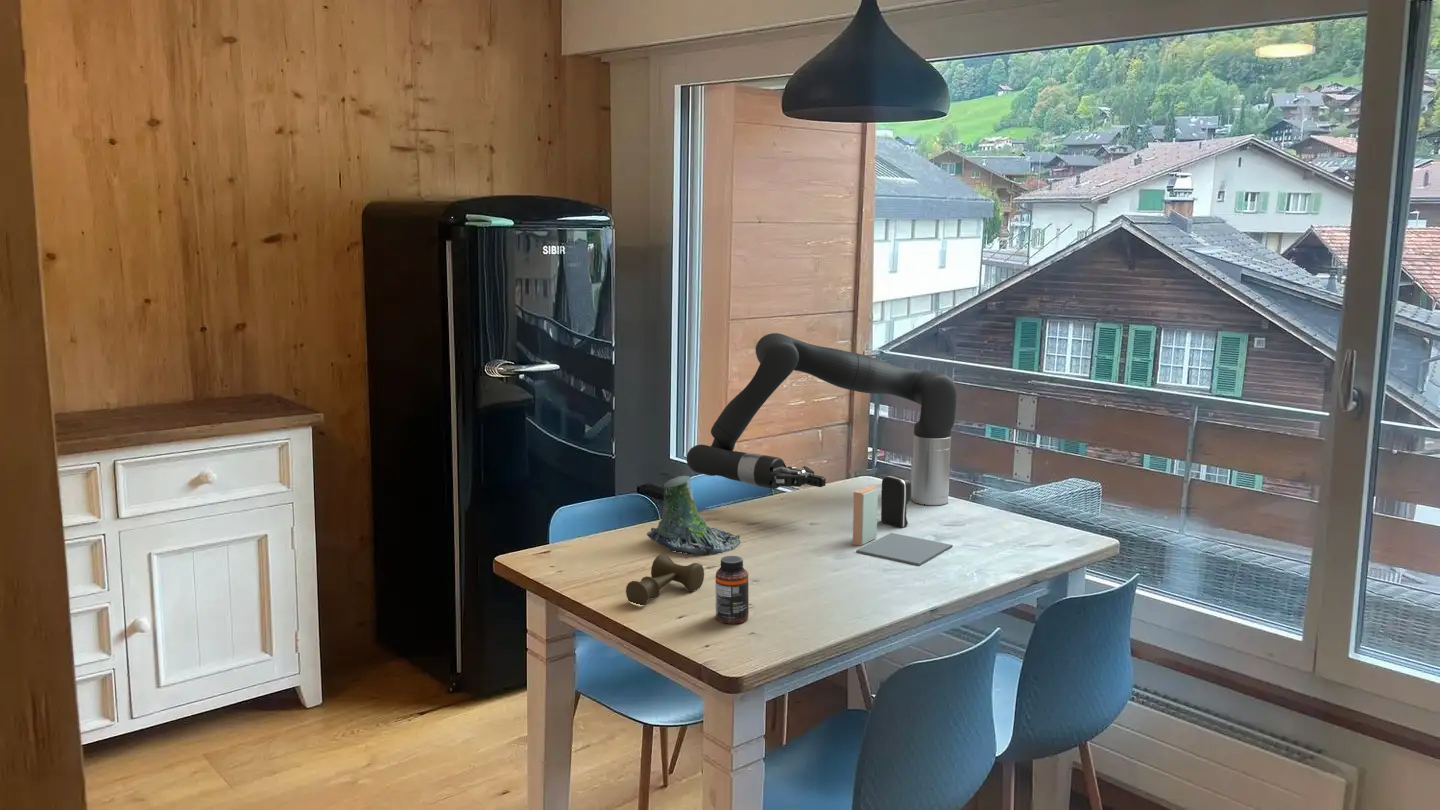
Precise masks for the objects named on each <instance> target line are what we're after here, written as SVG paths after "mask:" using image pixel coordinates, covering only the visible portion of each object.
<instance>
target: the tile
mask: <svg viewBox="0 0 1440 810" xmlns="http://www.w3.org/2000/svg"><path fill="white" fill-rule="evenodd" d="M878 493H879V489H878V486H876V485H875V486H873V485H867V486H865V487H862V488H860V489H857V490H856V491H854V492H853V515H852V516H853V518H852V545H854V544H855V545H854V546H858V545H859V547H862V546H863V544H864V545H867V543H868V544H869V543H870V542H873V541H875V540H877V535H878V533H877V529H878V503H879V502H878V501H879V500H878V498H879V497H878V496H879V495H878ZM869 541H870V542H869ZM861 545H862V546H861Z"/></svg>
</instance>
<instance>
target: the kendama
mask: <svg viewBox="0 0 1440 810" xmlns="http://www.w3.org/2000/svg"><path fill="white" fill-rule="evenodd" d="M650 570H651V571H650V575H651V576H643V577H642V578H641V580H640V581H639V580H638V581H637V580H632V581H630V582H628V583H627V585H626V587H625V595H626V598H627V601H628V602H629V601H630V602H633V603H636V604H640V605H645V606H646V605H647V604H648V603H649V600H650V599H651V598H654V599H656V598H658V596H659V595H660V592H661V590H662V589H663V588H665V586H667V585H668V584H670V582H672V581H673V582H677V583H680V584H682V586H684V588H685V589H686V590H687V591H689V592H691V591H694V590H697V589H698V588H699V589H700V588H701V587H702V585H703V582H704V579H705V569H704V567H703V565H702V564H700V563H699V562H698V563H697V562H693V563H691V564H689V565H683V564H678V563H675V561H673V560H672V558H671V557H670V556H669V555H668V554H666V553H661V554H658V555H657V556H656V557H655V558H654V560H653V562H652V565H651V569H650ZM699 589H698V590H699ZM698 590H697V591H698ZM694 592H695V591H694ZM630 602H629V603H630Z"/></svg>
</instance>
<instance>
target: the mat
mask: <svg viewBox="0 0 1440 810" xmlns="http://www.w3.org/2000/svg"><path fill="white" fill-rule="evenodd" d="M952 548H953V544H950V543H946V542H945V543H944V542H938V541H935V540H930V539H924V538H920V537H915V536H908V535H904V534H900V533H894V532H889V533H888V534H886V535H884V536H882V537H880V538H878V539H875V540H873V541H871V542H869V543H868V544H865V545H864V546H861V547H860V548H857V549H856V553H857V554H864V555H868V556H873V557H876V556H877V557H876V558H882V559H886V560H890V561H895V562H901V563H904V562H905V564H909V565H913V564H915V566H918V565H919V567H920V566H922V565H924V564H925V563H927V562H929V561H931V560H932V559H934V558H936V557H938V556H940V555H941V554H943V553H944V551H945V552H946V551H948V550H950V549H952ZM937 555H938V556H937ZM935 556H936V557H935ZM930 559H931V560H930ZM928 560H929V561H928ZM923 563H924V564H923ZM921 564H922V565H921Z"/></svg>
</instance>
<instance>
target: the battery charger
mask: <svg viewBox="0 0 1440 810" xmlns="http://www.w3.org/2000/svg"><path fill="white" fill-rule="evenodd" d="M880 490H881V493H880V494H881V495H880V497H881V498H880V499H881V506H880V507H881V510H880V513H881V515H880V521H881V522H883V523H886V524H888V525H891V526H894V527H898V528H904V527H907V526H908V524H909V522H908V519H907V509H908V508H907V507H908V506H907V505H908V502H909V501H912V498H911V480H909V479H908V478H906V477H902V476H899V475H898V476H897V475H887V476H884V477H883V478H882V481H881V489H880Z"/></svg>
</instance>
